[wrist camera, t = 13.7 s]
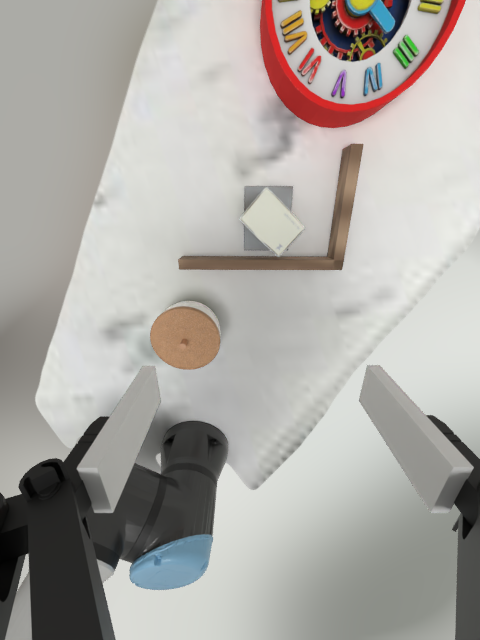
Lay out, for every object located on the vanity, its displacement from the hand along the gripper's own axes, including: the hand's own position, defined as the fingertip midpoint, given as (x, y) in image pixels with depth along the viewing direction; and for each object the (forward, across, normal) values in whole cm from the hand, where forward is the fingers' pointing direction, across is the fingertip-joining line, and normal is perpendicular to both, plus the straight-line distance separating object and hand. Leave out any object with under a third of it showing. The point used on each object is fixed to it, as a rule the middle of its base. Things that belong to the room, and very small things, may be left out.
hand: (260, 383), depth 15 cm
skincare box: (+28, -2, -9) cm, 29 cm away
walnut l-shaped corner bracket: (+28, -1, -10) cm, 30 cm away
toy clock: (+28, -11, -30) cm, 43 cm away
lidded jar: (+28, +10, +8) cm, 31 cm away
